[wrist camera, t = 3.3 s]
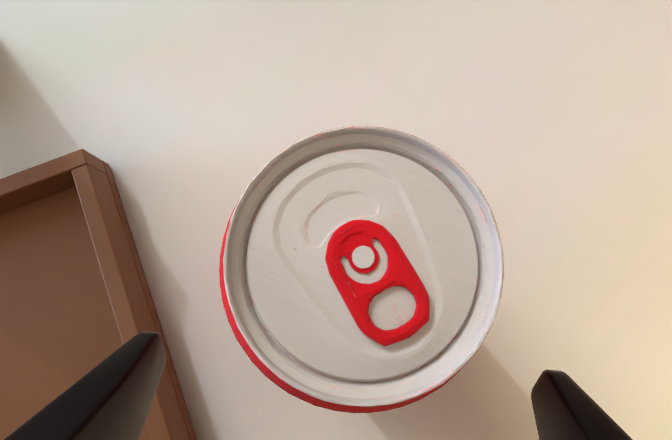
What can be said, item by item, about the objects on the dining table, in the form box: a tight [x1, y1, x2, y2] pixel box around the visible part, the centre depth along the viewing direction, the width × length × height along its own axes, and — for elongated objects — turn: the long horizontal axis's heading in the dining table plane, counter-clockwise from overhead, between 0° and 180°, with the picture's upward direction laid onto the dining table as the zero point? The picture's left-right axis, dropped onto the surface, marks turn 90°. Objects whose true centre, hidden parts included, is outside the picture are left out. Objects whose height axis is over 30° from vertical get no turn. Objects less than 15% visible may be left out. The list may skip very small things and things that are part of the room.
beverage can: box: [219, 126, 504, 413], centre depth 13 cm, size 6×6×12 cm
